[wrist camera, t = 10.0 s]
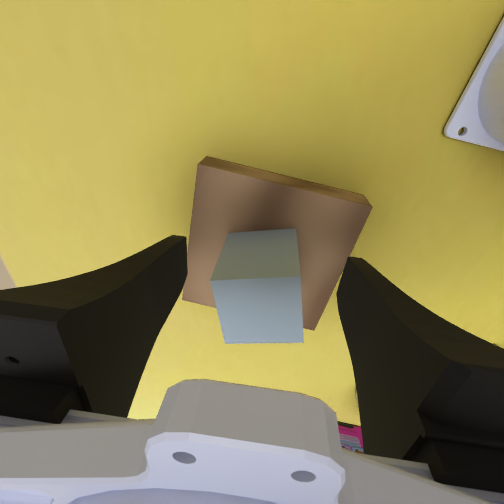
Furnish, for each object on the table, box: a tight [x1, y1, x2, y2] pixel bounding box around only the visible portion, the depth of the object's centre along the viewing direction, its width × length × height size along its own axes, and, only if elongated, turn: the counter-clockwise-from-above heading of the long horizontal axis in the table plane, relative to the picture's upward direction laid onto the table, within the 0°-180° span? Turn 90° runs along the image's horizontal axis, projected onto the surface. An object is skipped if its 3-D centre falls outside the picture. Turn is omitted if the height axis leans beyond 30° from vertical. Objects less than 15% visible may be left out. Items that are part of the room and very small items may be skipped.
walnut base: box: [182, 156, 372, 330], centre depth 23 cm, size 12×12×2 cm
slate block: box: [210, 228, 304, 344], centre depth 19 cm, size 5×5×6 cm
